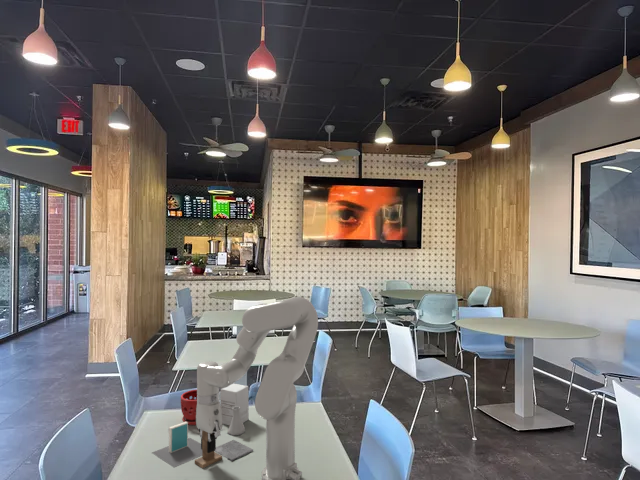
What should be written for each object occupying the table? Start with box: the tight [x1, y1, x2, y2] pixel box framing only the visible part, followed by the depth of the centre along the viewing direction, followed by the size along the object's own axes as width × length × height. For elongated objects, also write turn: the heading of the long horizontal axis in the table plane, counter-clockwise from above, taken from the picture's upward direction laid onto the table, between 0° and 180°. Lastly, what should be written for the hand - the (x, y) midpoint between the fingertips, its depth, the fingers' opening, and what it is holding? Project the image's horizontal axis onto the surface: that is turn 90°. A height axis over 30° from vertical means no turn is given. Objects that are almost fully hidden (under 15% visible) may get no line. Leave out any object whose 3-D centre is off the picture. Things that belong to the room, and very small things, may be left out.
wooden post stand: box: [194, 430, 223, 469], centre depth 147 cm, size 5×8×15 cm, turn 139°
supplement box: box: [220, 383, 250, 426], centre depth 182 cm, size 9×9×15 cm
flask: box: [227, 406, 246, 436], centre depth 172 cm, size 7×7×10 cm
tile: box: [168, 421, 189, 453], centre depth 156 cm, size 2×7×9 cm, turn 139°
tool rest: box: [214, 439, 254, 462], centre depth 156 cm, size 12×10×1 cm
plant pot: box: [180, 389, 197, 426], centre depth 183 cm, size 13×13×12 cm
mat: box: [151, 437, 202, 468], centre depth 154 cm, size 16×16×1 cm
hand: (208, 449), depth 147 cm, fingers closed on wooden post stand, 3 cm apart
